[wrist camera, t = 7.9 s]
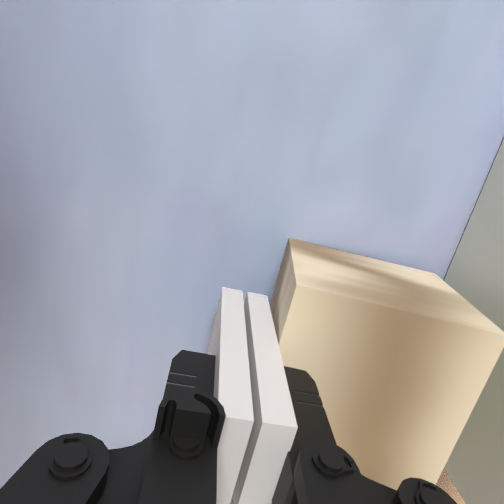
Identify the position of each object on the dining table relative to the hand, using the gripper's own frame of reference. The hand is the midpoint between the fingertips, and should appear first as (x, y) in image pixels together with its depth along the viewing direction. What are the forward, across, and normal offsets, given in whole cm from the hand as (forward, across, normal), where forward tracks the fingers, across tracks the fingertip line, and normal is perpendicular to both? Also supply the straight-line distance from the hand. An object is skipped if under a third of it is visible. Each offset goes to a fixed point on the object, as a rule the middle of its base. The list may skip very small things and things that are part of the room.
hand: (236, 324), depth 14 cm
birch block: (+1, +4, 0) cm, 5 cm away
